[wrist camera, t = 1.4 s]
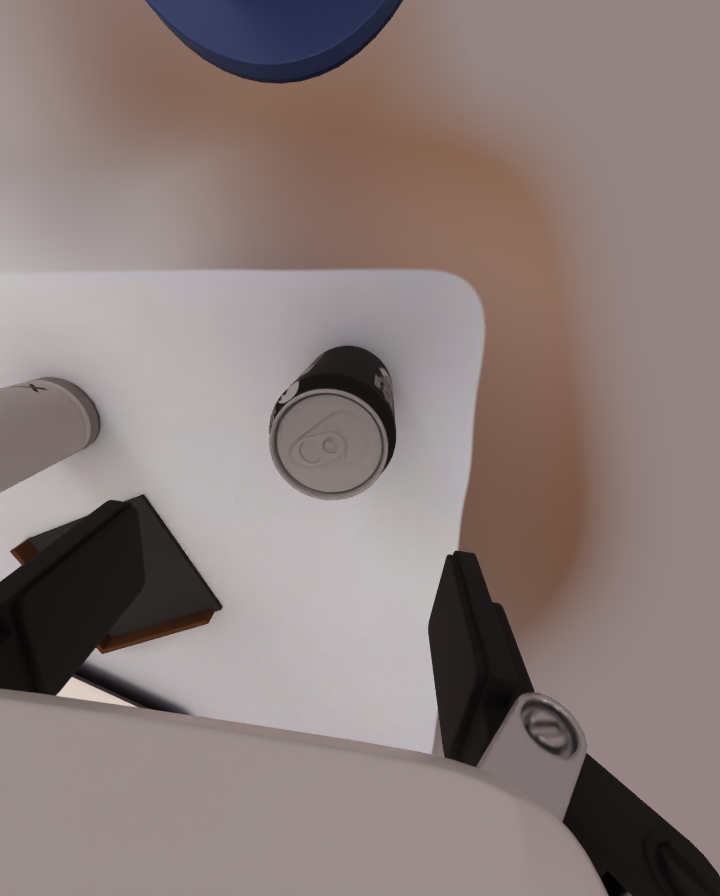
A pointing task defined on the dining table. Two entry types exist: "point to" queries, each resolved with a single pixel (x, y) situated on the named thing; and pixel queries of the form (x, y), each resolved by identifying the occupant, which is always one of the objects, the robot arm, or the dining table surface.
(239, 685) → the dining table surface
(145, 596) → the corner mat
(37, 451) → the travel mug
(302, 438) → the beverage can
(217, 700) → the dining table surface
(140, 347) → the dining table surface
